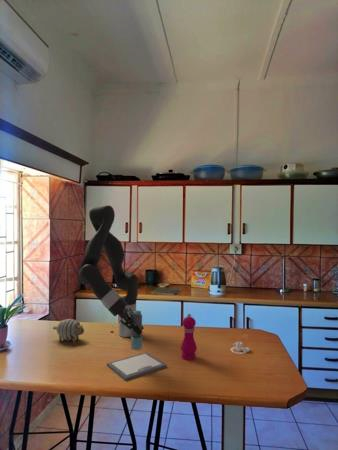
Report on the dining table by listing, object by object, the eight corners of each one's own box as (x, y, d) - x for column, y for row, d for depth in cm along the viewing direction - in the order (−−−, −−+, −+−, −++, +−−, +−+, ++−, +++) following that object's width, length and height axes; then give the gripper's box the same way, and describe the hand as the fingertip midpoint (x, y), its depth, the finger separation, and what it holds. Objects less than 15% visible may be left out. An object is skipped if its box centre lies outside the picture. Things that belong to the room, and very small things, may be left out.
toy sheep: (79, 345, 159) (80, 323, 159) (47, 343, 160) (47, 321, 160) (87, 337, 169) (87, 316, 169) (57, 336, 171) (57, 315, 171)
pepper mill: (198, 355, 148) (198, 312, 148) (194, 361, 141) (194, 316, 141) (183, 353, 150) (183, 310, 150) (178, 359, 144) (179, 315, 143)
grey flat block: (146, 354, 149) (146, 350, 149) (166, 367, 136) (166, 362, 136) (106, 365, 137) (106, 361, 136) (125, 380, 124) (125, 376, 124)
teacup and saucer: (251, 351, 154) (252, 343, 154) (243, 356, 148) (243, 347, 148) (236, 346, 160) (236, 338, 160) (227, 351, 155) (227, 342, 155)
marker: (138, 345, 139) (138, 309, 139) (144, 348, 135) (144, 312, 136) (129, 347, 136) (129, 311, 136) (134, 350, 133) (135, 313, 133)
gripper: (116, 300, 129) (145, 331, 129) (123, 292, 143) (149, 320, 143) (103, 312, 129) (132, 343, 129) (111, 304, 144) (137, 332, 143)
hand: (141, 331), depth 136 cm, fingers closed on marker, 4 cm apart
